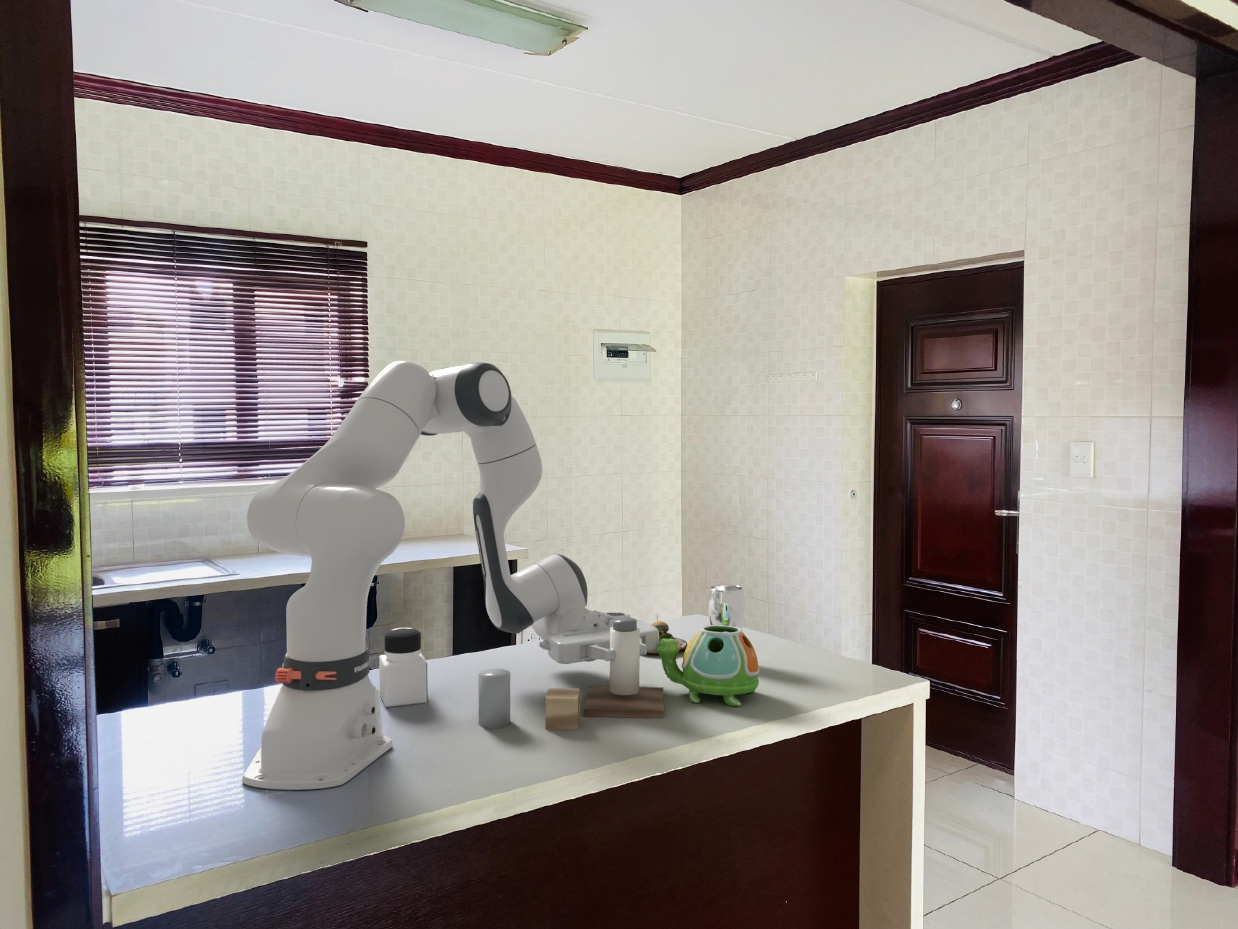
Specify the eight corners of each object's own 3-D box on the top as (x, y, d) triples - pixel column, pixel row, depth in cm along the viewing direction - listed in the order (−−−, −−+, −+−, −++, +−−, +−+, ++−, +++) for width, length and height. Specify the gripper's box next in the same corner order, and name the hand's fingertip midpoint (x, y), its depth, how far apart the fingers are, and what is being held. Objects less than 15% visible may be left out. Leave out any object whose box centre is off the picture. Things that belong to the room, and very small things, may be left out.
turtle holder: (666, 679, 167) (666, 615, 167) (764, 689, 162) (765, 623, 161) (647, 700, 156) (648, 631, 155) (752, 711, 150) (753, 640, 149)
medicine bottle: (427, 703, 153) (427, 633, 153) (384, 708, 151) (383, 637, 150) (420, 690, 160) (420, 623, 159) (379, 695, 157) (378, 627, 157)
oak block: (577, 730, 141) (577, 698, 141) (545, 729, 141) (545, 698, 141) (579, 719, 146) (579, 688, 146) (548, 718, 146) (548, 688, 146)
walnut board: (663, 717, 147) (663, 710, 147) (583, 716, 147) (583, 709, 147) (662, 694, 159) (662, 687, 159) (588, 693, 159) (588, 686, 159)
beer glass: (704, 666, 176) (705, 589, 175) (711, 656, 182) (712, 583, 181) (740, 669, 174) (741, 592, 173) (746, 659, 180) (747, 585, 179)
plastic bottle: (639, 695, 150) (639, 624, 149) (608, 694, 150) (609, 623, 150) (639, 686, 155) (640, 616, 154) (610, 685, 155) (610, 616, 155)
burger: (624, 657, 183) (624, 620, 183) (636, 642, 195) (636, 607, 194) (683, 660, 181) (683, 623, 180) (692, 645, 192) (692, 610, 191)
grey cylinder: (507, 728, 142) (507, 678, 141) (475, 728, 142) (475, 677, 141) (512, 717, 147) (512, 669, 146) (481, 717, 147) (481, 668, 146)
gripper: (534, 625, 158) (573, 643, 146) (633, 611, 168) (677, 627, 157) (534, 660, 158) (573, 681, 146) (633, 645, 169) (676, 663, 157)
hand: (627, 653), depth 152 cm, fingers closed on plastic bottle, 5 cm apart
